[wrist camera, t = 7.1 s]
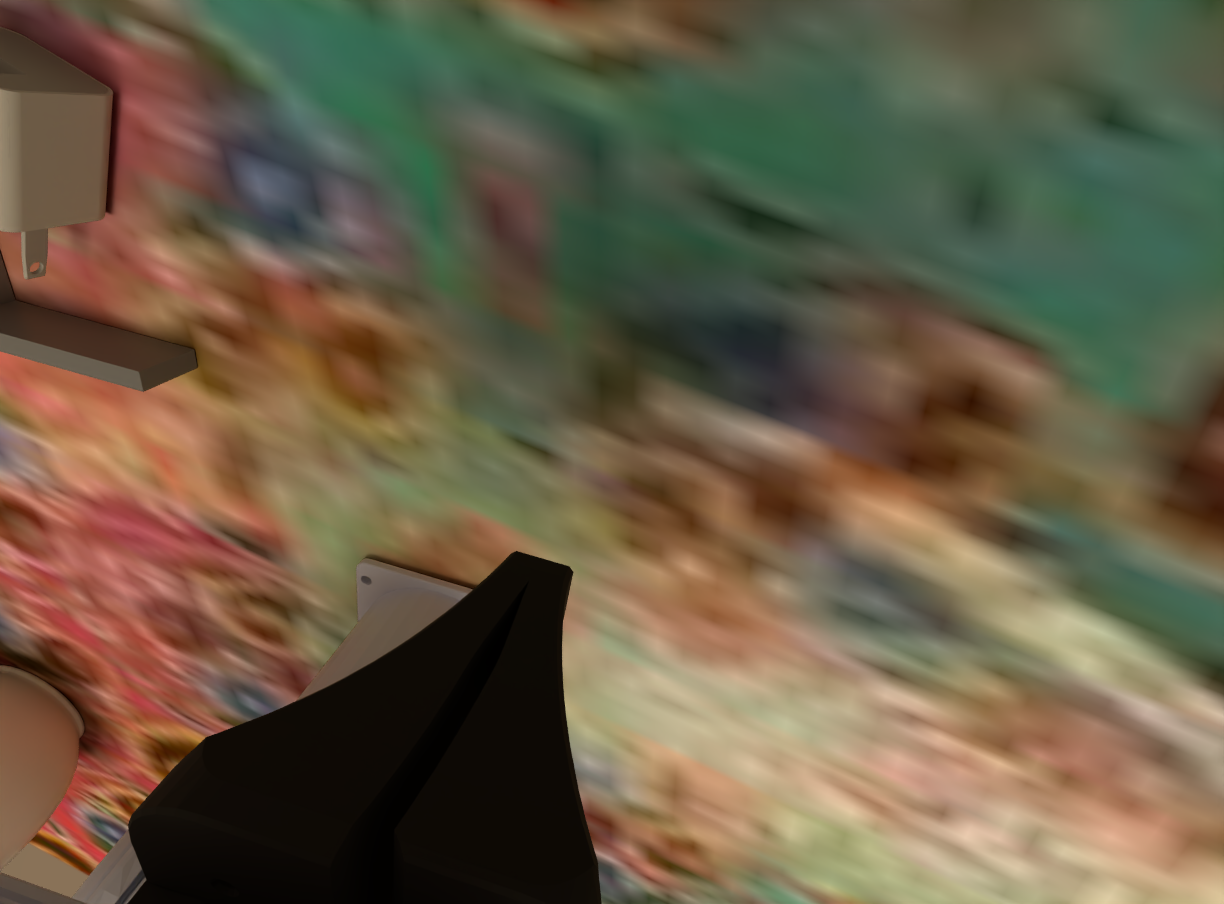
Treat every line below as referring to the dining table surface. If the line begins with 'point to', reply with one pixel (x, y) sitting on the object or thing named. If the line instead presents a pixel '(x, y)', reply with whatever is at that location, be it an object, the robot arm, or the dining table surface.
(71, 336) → the charging bay
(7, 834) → the lidded bowl
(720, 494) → the dining table surface
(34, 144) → the usb wall charger
